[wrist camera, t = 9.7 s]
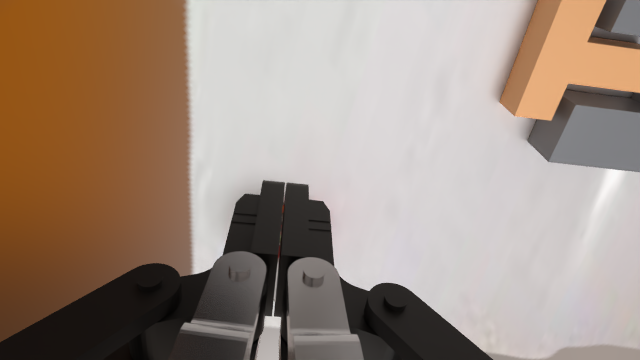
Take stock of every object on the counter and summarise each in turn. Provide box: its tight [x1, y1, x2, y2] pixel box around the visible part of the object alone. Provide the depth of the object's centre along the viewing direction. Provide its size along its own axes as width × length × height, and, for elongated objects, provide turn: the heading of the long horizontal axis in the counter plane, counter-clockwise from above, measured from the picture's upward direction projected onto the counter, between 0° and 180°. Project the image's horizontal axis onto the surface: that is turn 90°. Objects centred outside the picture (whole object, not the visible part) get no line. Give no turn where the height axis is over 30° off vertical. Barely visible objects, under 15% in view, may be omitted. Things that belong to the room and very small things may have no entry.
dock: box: [528, 0, 640, 172], centre depth 42 cm, size 20×11×5 cm, turn 172°
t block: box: [500, 0, 640, 121], centre depth 42 cm, size 12×12×4 cm
